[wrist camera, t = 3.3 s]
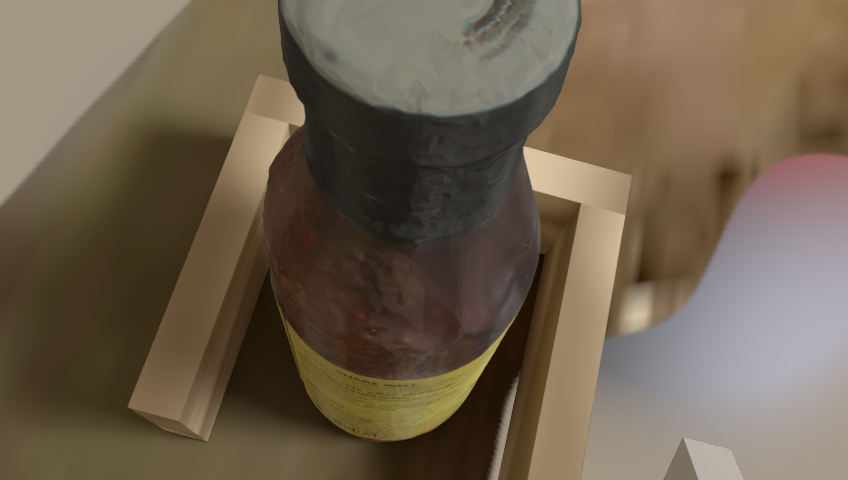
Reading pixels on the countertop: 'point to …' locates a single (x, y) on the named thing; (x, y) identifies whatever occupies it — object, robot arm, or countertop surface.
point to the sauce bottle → (408, 197)
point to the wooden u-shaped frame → (247, 264)
